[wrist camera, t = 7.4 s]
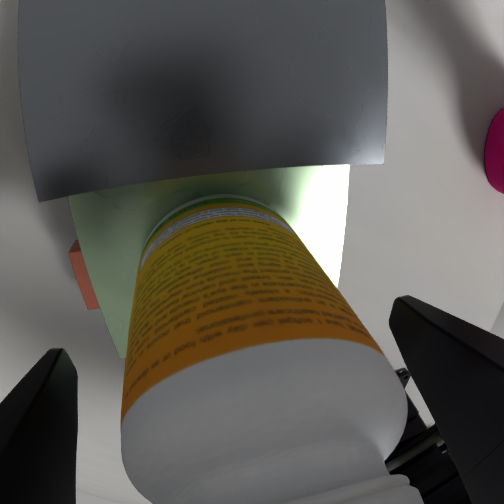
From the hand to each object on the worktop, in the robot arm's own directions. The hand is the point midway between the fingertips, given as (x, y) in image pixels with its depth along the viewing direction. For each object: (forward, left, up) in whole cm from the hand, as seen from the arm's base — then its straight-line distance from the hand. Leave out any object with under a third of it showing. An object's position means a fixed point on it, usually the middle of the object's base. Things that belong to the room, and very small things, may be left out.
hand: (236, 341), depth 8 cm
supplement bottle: (0, 0, -4) cm, 4 cm away
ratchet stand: (0, 0, -8) cm, 8 cm away
